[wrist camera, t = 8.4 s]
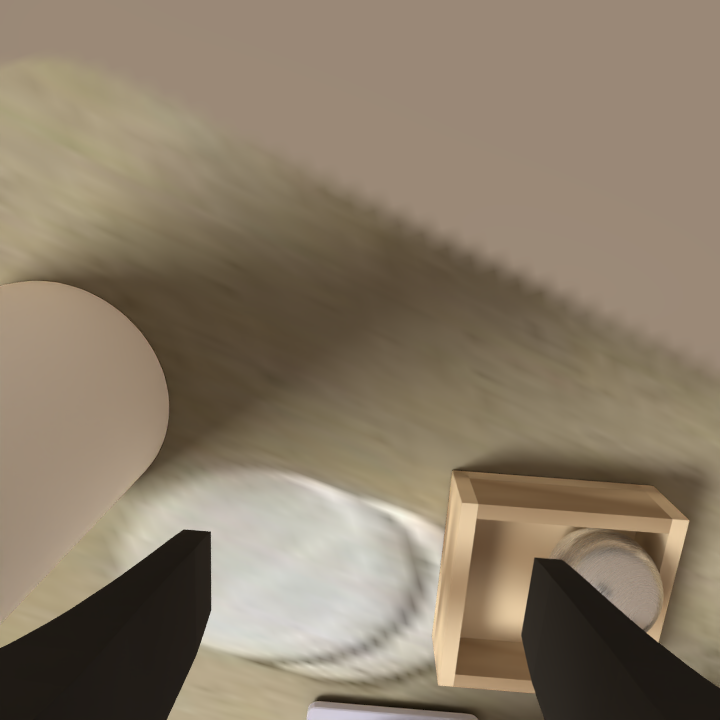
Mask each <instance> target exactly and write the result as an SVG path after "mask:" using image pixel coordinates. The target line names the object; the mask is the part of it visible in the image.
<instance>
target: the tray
mask: <svg viewBox="0 0 720 720" xmlns="http://www.w3.org/2000/svg"><path fill="white" fill-rule="evenodd" d="M688 524H689V520H688V519H687V518H686V517H685V516H684V515H683V514H682V513H681V512H680V511H679V510H678V509H677V508H676V507H675V506H674V505H673V504H672V503H671V502H670V501H668V500H667V499H666V498H665V497H664V496H663V495H662V494H661V493H660V492H659V491H658V490H657V489H656V488H655V487H654V486H650V485H637V484H624V483H611V482H598V481H585V480H572V479H559V478H546V477H533V476H520V475H507V474H494V473H481V472H468V471H455V470H452V477H451V485H450V493H449V501H448V509H447V518H446V526H445V534H444V542H443V551H442V559H441V567H440V575H439V583H438V592H437V600H436V608H435V616H434V625H433V633H432V640H433V647H434V655H435V663H436V671H437V678H438V685H441V686H453V687H464V688H476V689H488V690H500V691H512V692H524V693H535V690H534V688H533V685H532V681H531V677H530V673H529V669H528V665H527V660H526V656H525V651H524V646H523V642H522V637H521V633H522V627H523V621H524V615H525V609H526V604H527V598H528V592H529V586H530V581H531V575H532V569H533V563H534V557H535V558H549V556H550V553H551V552H552V550H553V548H554V547H555V546H556V544H557V543H558V542H559V541H560V540H561V539H562V538H563V537H565V536H566V535H568V534H569V533H571V532H573V531H576V530H579V529H582V528H601V529H612V530H615V531H618V532H620V533H622V534H624V535H626V536H628V537H630V538H631V539H633V540H634V541H636V542H637V543H638V544H639V545H640V546H641V547H642V548H644V550H645V551H646V552H647V553H648V554H649V555H650V557H651V558H652V560H653V561H654V563H655V565H656V567H657V569H658V571H659V573H660V576H661V580H662V584H663V593H664V598H663V605H662V610H661V613H660V615H659V617H658V619H657V621H656V622H655V624H654V625H653V627H652V628H651V629H650V630H649V631H648V632H646V633H647V634H649V635H650V636H651V637H652V638H653V639H655V640H656V641H657V642H659V638H660V635H661V631H662V627H663V623H664V619H665V615H666V611H667V607H668V603H669V599H670V595H671V591H672V587H673V583H674V579H675V575H676V571H677V567H678V564H679V560H680V556H681V552H682V548H683V544H684V540H685V536H686V532H687V528H688Z"/></svg>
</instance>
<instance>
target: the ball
mask: <svg viewBox="0 0 720 720" xmlns="http://www.w3.org/2000/svg"><path fill="white" fill-rule="evenodd" d="M548 559H560V560H563V561H565V562H566V563H567V564H568V565H570V566H571V567H572V568H573V569H574V570H575V571H577V572H578V573H579V574H580V575H581V576H582V577H583V578H585V579H586V580H587V581H588V582H589V583H590V584H591V585H592V586H593V587H595V588H596V589H597V590H598V591H599V592H600V593H601V594H602V595H604V596H605V597H606V598H607V599H608V600H609V601H610V602H611V603H612V604H614V605H615V606H616V607H617V608H618V609H619V610H620V611H622V612H623V613H624V614H625V615H626V616H627V617H628V618H630V619H631V620H632V621H633V622H634V623H635V624H637V625H638V626H639V627H640V628H641V629H643V630H644V631H645V632H648V631H649V630H650V629H651V628H652V627H653V625H654V624H655V622H656V621H657V619H658V617H659V615H660V613H661V610H662V605H663V598H664V593H663V584H662V580H661V576H660V573H659V571H658V569H657V567H656V565H655V563H654V561H653V560H652V558H651V557H650V555H649V554H648V553H647V552H646V551H645V550H644V548H642V547H641V546H640V545H639V544H638V543H637V542H636V541H634V540H633V539H631V538H630V537H628V536H626V535H624V534H622V533H620V532H618V531H615V530H612V529H601V528H582V529H579V530H576V531H573V532H571V533H569V534H568V535H566V536H565V537H563V538H562V539H561V540H560V541H559V542H558V543H557V544H556V546H555V547H554V548H553V550H552V552H551V553H550V556H549V558H548Z"/></svg>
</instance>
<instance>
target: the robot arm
mask: <svg viewBox="0 0 720 720" xmlns="http://www.w3.org/2000/svg"><path fill="white" fill-rule="evenodd" d="M210 612H211V532H208V531H195V530H182V531H181V532H180V533H178V534H177V535H175V536H174V537H173V538H171V539H170V540H169V541H167V542H166V543H165V544H163V545H162V546H161V547H159V548H158V549H157V550H155V551H154V552H153V553H151V554H150V555H149V556H147V557H146V558H145V559H143V560H142V561H140V562H139V563H138V564H136V565H135V566H133V567H132V568H131V569H129V570H128V571H127V572H125V573H124V574H122V575H121V576H120V577H118V578H117V579H115V580H114V581H113V582H111V583H110V584H108V585H107V586H105V587H104V588H102V589H101V590H99V591H97V592H96V593H94V594H93V595H91V596H90V597H88V598H87V599H85V600H84V601H82V602H81V603H79V604H78V605H76V606H75V607H73V608H72V609H70V610H68V611H67V612H65V613H64V614H62V615H60V616H59V617H57V618H55V619H53V620H52V621H50V622H48V623H47V624H45V625H43V626H41V627H39V628H38V629H36V630H34V631H32V632H30V633H28V634H27V635H25V636H23V637H21V638H19V639H17V640H16V641H14V642H12V643H10V644H8V645H6V646H4V647H2V648H0V720H167V718H168V715H169V713H170V711H171V709H172V707H173V705H174V703H175V700H176V698H177V696H178V694H179V692H180V690H181V688H182V685H183V683H184V681H185V679H186V677H187V674H188V672H189V670H190V668H191V666H192V664H193V661H194V659H195V657H196V655H197V652H198V649H199V646H200V643H201V640H202V637H203V634H204V631H205V628H206V624H207V621H208V618H209V615H210ZM521 637H522V642H523V646H524V651H525V656H526V660H527V665H528V669H529V673H530V677H531V681H532V685H533V688H534V690H535V693H536V696H537V699H538V702H539V705H540V708H541V711H542V713H543V716H544V719H545V720H720V688H718V687H717V686H715V685H714V684H712V683H711V682H710V681H708V680H707V679H705V678H704V677H702V676H701V675H700V674H698V673H697V672H696V671H694V670H693V669H692V668H690V667H689V666H688V665H686V664H685V663H684V662H682V661H681V660H680V659H679V658H677V657H676V656H675V655H674V654H672V653H671V652H670V651H668V650H667V649H666V648H665V647H663V646H662V645H661V644H660V643H658V642H657V641H656V640H655V639H653V638H652V637H651V636H650V635H649V634H647V633H646V632H645V631H644V630H643V629H641V628H640V627H639V626H638V625H637V624H635V623H634V622H633V621H632V620H631V619H630V618H628V617H627V616H626V615H625V614H624V613H623V612H622V611H620V610H619V609H618V608H617V607H616V606H615V605H614V604H612V603H611V602H610V601H609V600H608V599H607V598H606V597H605V596H604V595H602V594H601V593H600V592H599V591H598V590H597V589H596V588H595V587H593V586H592V585H591V584H590V583H589V582H588V581H587V580H586V579H585V578H583V577H582V576H581V575H580V574H579V573H578V572H577V571H575V570H574V569H573V568H572V567H571V566H570V565H568V564H567V563H566V562H565V561H563V560H560V559H548V558H535V557H534V563H533V569H532V575H531V581H530V586H529V592H528V598H527V604H526V609H525V615H524V621H523V627H522V633H521ZM307 720H478V719H477V717H476V716H474V715H471V714H464V713H453V712H441V711H429V710H417V709H405V708H393V707H382V706H370V705H358V704H346V703H334V702H323V701H315V702H313V703H311V704H310V705H309V707H308V712H307Z"/></svg>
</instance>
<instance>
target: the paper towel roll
mask: <svg viewBox="0 0 720 720" xmlns="http://www.w3.org/2000/svg"><path fill="white" fill-rule="evenodd" d="M168 420H169V395H168V389H167V385H166V380H165V376H164V373H163V370H162V368H161V366H160V363H159V361H158V359H157V356H156V354H155V353H154V351H153V349H152V347H151V346H150V344H149V343H148V341H147V340H146V338H145V337H144V336H143V334H142V333H141V332H140V331H139V329H138V328H137V327H136V326H135V325H134V324H133V323H132V322H131V321H130V320H129V319H128V318H127V317H126V316H125V315H124V314H123V313H121V312H120V311H119V310H117V309H116V308H115V307H113V306H112V305H111V304H109V303H108V302H106V301H105V300H103V299H101V298H99V297H97V296H95V295H93V294H91V293H89V292H87V291H85V290H82V289H80V288H77V287H73V286H70V285H66V284H62V283H57V282H48V281H25V282H17V283H11V284H5V285H0V624H1V623H2V622H3V621H4V620H5V619H6V618H7V617H8V616H9V615H10V614H11V613H12V612H13V610H14V609H15V608H16V607H17V606H18V605H19V604H20V603H21V602H22V601H23V600H24V599H25V598H26V597H27V596H28V595H29V594H30V593H31V591H32V590H33V589H34V588H35V587H36V586H37V585H38V584H39V583H40V582H41V581H42V580H43V579H44V578H45V577H46V576H47V575H48V573H49V572H50V571H51V570H52V569H53V568H54V567H55V566H56V565H57V564H58V563H59V562H60V561H61V560H62V559H63V558H64V557H65V555H66V554H67V553H68V552H69V551H70V550H71V549H72V548H73V547H74V546H75V545H76V544H77V543H78V542H79V541H80V540H81V539H82V537H83V536H84V535H85V534H86V533H87V532H88V531H89V530H90V529H91V528H92V527H93V526H94V525H95V524H96V523H97V522H98V521H99V519H100V518H101V517H102V516H103V515H104V514H105V513H106V512H107V511H108V510H109V509H110V508H111V507H112V506H113V505H114V504H115V503H116V501H117V500H118V499H119V498H120V497H121V496H122V495H123V494H124V493H125V492H126V491H127V490H128V489H129V488H130V487H131V486H132V485H133V483H134V482H135V481H136V480H137V479H138V478H139V477H140V476H141V475H142V474H143V473H144V472H145V471H146V470H147V468H148V467H149V466H150V465H151V463H152V462H153V461H154V459H155V458H156V456H157V454H158V452H159V450H160V448H161V446H162V444H163V441H164V438H165V435H166V431H167V426H168Z"/></svg>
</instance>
